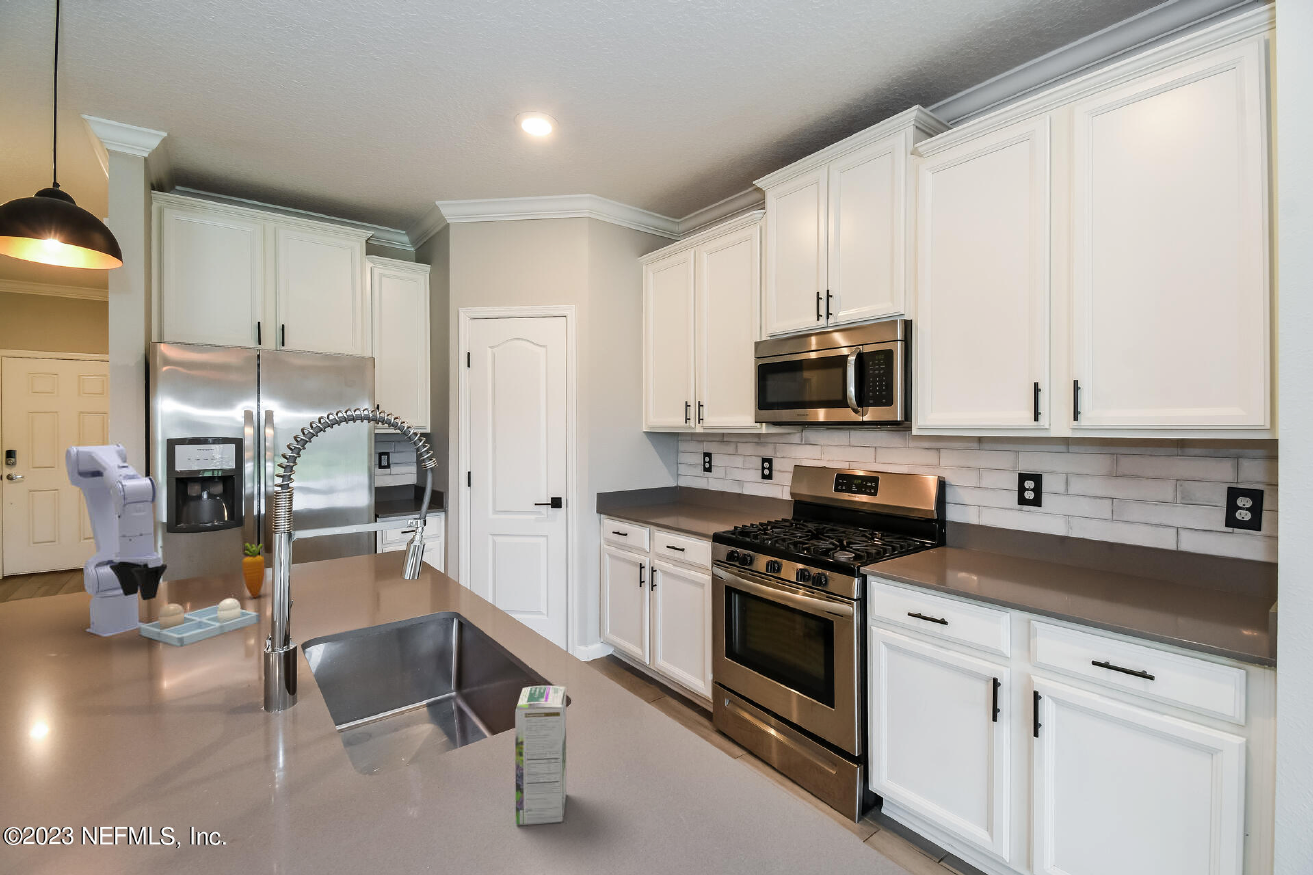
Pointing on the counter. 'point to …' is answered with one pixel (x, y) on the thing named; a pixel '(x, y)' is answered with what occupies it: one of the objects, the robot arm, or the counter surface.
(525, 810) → the syrup box
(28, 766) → the counter surface
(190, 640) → the divided tray
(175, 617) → the brown egg
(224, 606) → the cream egg
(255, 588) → the carrot
